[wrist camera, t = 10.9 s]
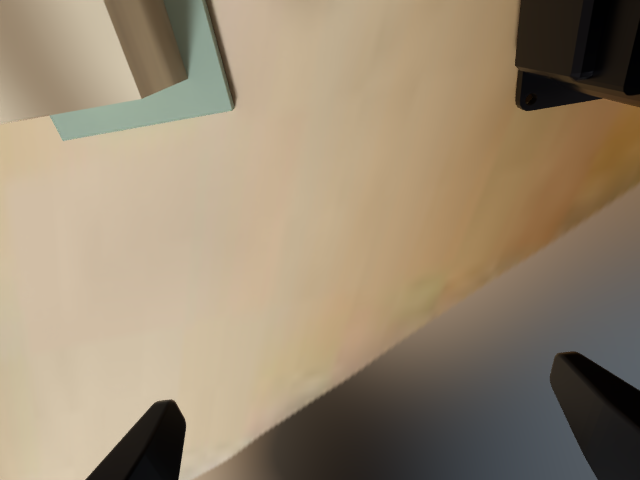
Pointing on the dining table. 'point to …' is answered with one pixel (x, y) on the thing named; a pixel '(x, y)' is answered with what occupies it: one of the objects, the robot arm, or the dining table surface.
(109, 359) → the dining table surface
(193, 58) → the pad
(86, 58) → the birch block
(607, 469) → the robot arm
